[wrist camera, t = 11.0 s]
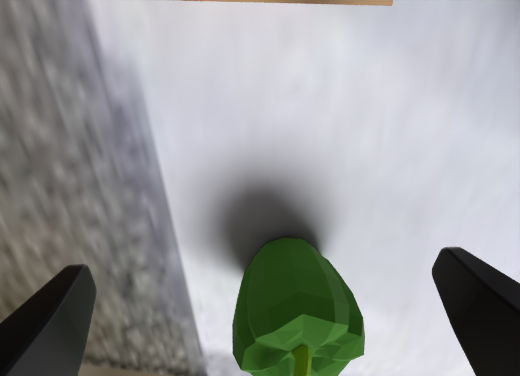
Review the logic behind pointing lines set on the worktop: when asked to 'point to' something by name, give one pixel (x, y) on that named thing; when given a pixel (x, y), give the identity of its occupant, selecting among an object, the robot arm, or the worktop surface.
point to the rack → (316, 1)
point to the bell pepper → (295, 314)
